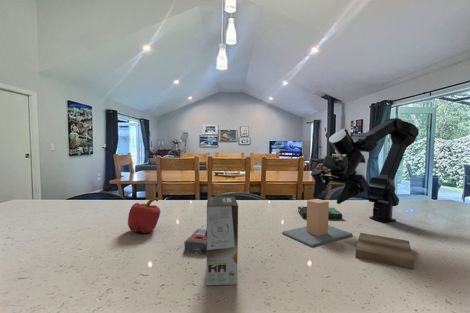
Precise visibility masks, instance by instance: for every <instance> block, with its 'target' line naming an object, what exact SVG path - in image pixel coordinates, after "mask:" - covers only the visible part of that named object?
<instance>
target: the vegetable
mask: <svg viewBox="0 0 470 313" xmlns="http://www.w3.org/2000/svg"><path fill="white" fill-rule="evenodd" d="M159 200H160V199H159V197H153V198H150V199H149V200H148V201H147V202H146V203H139V202H136V203H135V202H134V203H133V204H132V206H131V207H130V209H129V212H128V218H127V226H128V228H129V230H130V231H131V232H141V234H148V233H151V232H153V231H154V230H155V228H156V226H157V224H158V221H159V219H160V215H161V209H160V207H159V206H158V205H154V204H153V205H151V204H152V203H153V202H155V201H156V202H159Z"/></svg>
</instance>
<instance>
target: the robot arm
mask: <svg viewBox="0 0 470 313" xmlns="http://www.w3.org/2000/svg"><path fill="white" fill-rule="evenodd" d="M419 134H420V133H419V128H418V127H417V126H416V125H415V124H413V123H411V122H409V121H405V120H403V119H401V118H399V117H394V118H393V117H392V118H386V119H385V120H383V122H381V123H379V124H378V125H376V126H375V127H373V128H372V129H369V130H368V131H366V132H363V133H359V134H358V133H357V134H355V135H352V136H351V134H350V133H349V131H348V129H347V128H340V129H339V131H337V132H334V133H333V134H332V135H331V136H329V139H328V141H329V142H330V144H331V146H332V147H333V149H334V150H335V152H337V154H338V155H341V156H339V157H338V156H331V155H330V156H329V155H325V156H324V159H323V161H322V165H321V166H322V167H325V168H327V169H328V170H327V172H328V173H329V174H327V173H326V171H325V170H324V169H323V170H322V169H313V170H312V172H311V173H310V176H311V177H312V178H313V180H314V182H315V183H314V188H313V194H312V197H313V198H314V199H317V198H318V197H319V196H320V195H321V194H322V193H323V192H324V191H325V190H326V189H327V188H328V185H329V184H330V182H332V183H337V184H343V185H344V187H343V189H342V191H341V192H340V194H339V196H338V197H337V200H336V204H337V205H340V204H342V203H343V202H345V201H347V200H349V199H351V198H353V197H355V196H357V195H362V194H367V198H368V202H369V203H373V207H372V215H371V216H369V219H371V220H374V221H379V222H381V223H391V222H396V221H397V219H396V218H393V207H397V206H399V203H400V199H399V197H398V195H397V194H396V192H395V191H396V186H395V182H394V180H395V178H396V174H397V173H398V171H399V170H398V169H399V167H400V165H401V161H402V160H403V158H404V155H405V152H406V150H407V149H408V147H409V146H411V145H412V144H413V143H415V141H416V139H417V137H418V136H419ZM388 135H390V136H389V137H390V141H391V146H390V147H389V151H388V153H387V155H386V158H385V159H384V162H383V165H382V167H381V169H380V172H379V174H378V175H377V176H372V177H371V178H370V180H369V183H368V181H367V180H366V178H365V176H364V175H363V174H359V173H358V174H357V171H356V170H357V168H358V167H359V165H360V164H366V159H365V155H363V153H371V152H372V151H373V150H374V149H375V148H377V147H378V143H379V141H381V140H382V139H384V138H385V137H386V136H388Z"/></svg>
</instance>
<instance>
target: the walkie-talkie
mask: <svg viewBox="0 0 470 313" xmlns="http://www.w3.org/2000/svg"><path fill="white" fill-rule="evenodd" d="M184 251H185V252H186V251H189V252H188V253H195V252H197V253H196V254H207V224H206V225H202V226H201V227H200V228H197V229H196V230H195V231H194V232H193V233H192V234H191V235H190V236H189V237H188V238H187V239H186V240H184Z"/></svg>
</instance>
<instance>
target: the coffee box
mask: <svg viewBox="0 0 470 313" xmlns="http://www.w3.org/2000/svg"><path fill="white" fill-rule="evenodd" d="M206 226H207V253H206V286H227V285H230V286H231V285H232V286H233V285H237V284H238V255H239V254H238V251H239V250H238V249H239V248H238V247H239V245H238V244H239V204H238V201H237V199H236V196H209V197H207V202H206Z"/></svg>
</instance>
